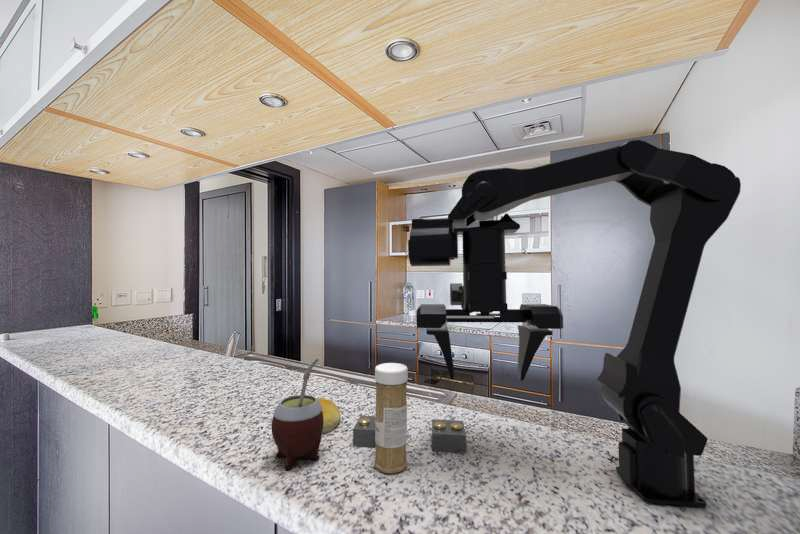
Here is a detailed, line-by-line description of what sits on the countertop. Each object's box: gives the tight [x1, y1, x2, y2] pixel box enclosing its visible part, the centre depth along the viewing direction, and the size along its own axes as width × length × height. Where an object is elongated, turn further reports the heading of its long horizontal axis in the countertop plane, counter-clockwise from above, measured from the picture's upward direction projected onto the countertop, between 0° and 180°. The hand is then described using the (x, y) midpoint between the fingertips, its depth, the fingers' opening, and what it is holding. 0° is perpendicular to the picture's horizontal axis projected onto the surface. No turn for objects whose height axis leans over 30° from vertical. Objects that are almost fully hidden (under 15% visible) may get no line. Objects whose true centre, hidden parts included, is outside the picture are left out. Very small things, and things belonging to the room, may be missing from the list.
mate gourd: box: [271, 358, 324, 472], centre depth 46 cm, size 8×8×15 cm
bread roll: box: [316, 398, 341, 435], centre depth 56 cm, size 8×9×4 cm
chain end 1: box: [352, 415, 376, 448], centre depth 51 cm, size 5×5×3 cm
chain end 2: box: [431, 418, 467, 454], centre depth 50 cm, size 5×5×3 cm
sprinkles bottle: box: [374, 362, 409, 474], centre depth 44 cm, size 5×5×13 cm
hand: (486, 379), depth 44 cm, fingers open, 9 cm apart
